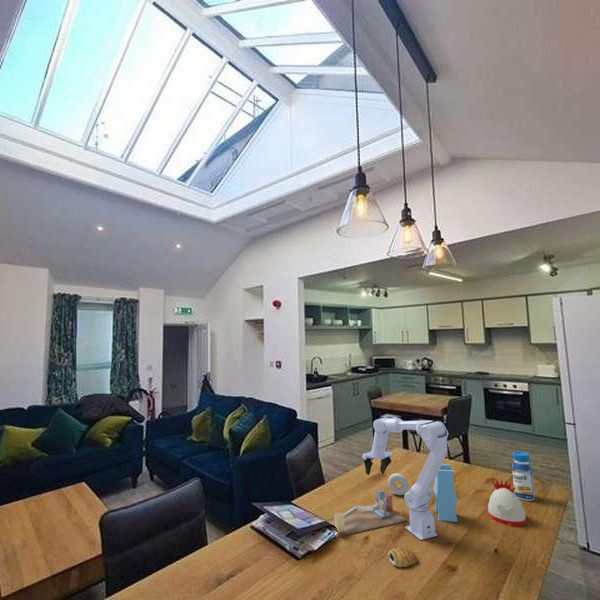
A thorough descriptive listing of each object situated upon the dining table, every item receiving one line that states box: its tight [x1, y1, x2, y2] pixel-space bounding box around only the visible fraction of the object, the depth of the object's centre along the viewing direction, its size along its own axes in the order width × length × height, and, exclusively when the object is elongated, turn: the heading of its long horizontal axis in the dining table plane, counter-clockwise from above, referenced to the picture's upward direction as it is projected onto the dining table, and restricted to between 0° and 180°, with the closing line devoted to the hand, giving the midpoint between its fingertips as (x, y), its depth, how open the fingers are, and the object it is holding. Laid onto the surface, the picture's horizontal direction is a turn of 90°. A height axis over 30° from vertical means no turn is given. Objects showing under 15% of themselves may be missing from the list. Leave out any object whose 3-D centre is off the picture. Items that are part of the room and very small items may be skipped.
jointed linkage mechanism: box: [333, 492, 394, 535], centre depth 144 cm, size 5×32×6 cm, turn 123°
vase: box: [432, 463, 458, 523], centre depth 148 cm, size 8×8×20 cm
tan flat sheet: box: [324, 507, 408, 539], centre depth 144 cm, size 13×32×1 cm, turn 110°
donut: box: [387, 472, 410, 496], centre depth 169 cm, size 10×4×10 cm, turn 68°
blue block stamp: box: [374, 489, 390, 519], centre depth 149 cm, size 4×6×10 cm, turn 20°
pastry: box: [387, 547, 418, 568], centre depth 118 cm, size 9×7×4 cm
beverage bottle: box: [511, 451, 536, 502], centre depth 164 cm, size 8×8×20 cm
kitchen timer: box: [487, 478, 527, 527], centre depth 146 cm, size 14×14×15 cm
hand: (374, 473), depth 156 cm, fingers open, 7 cm apart
